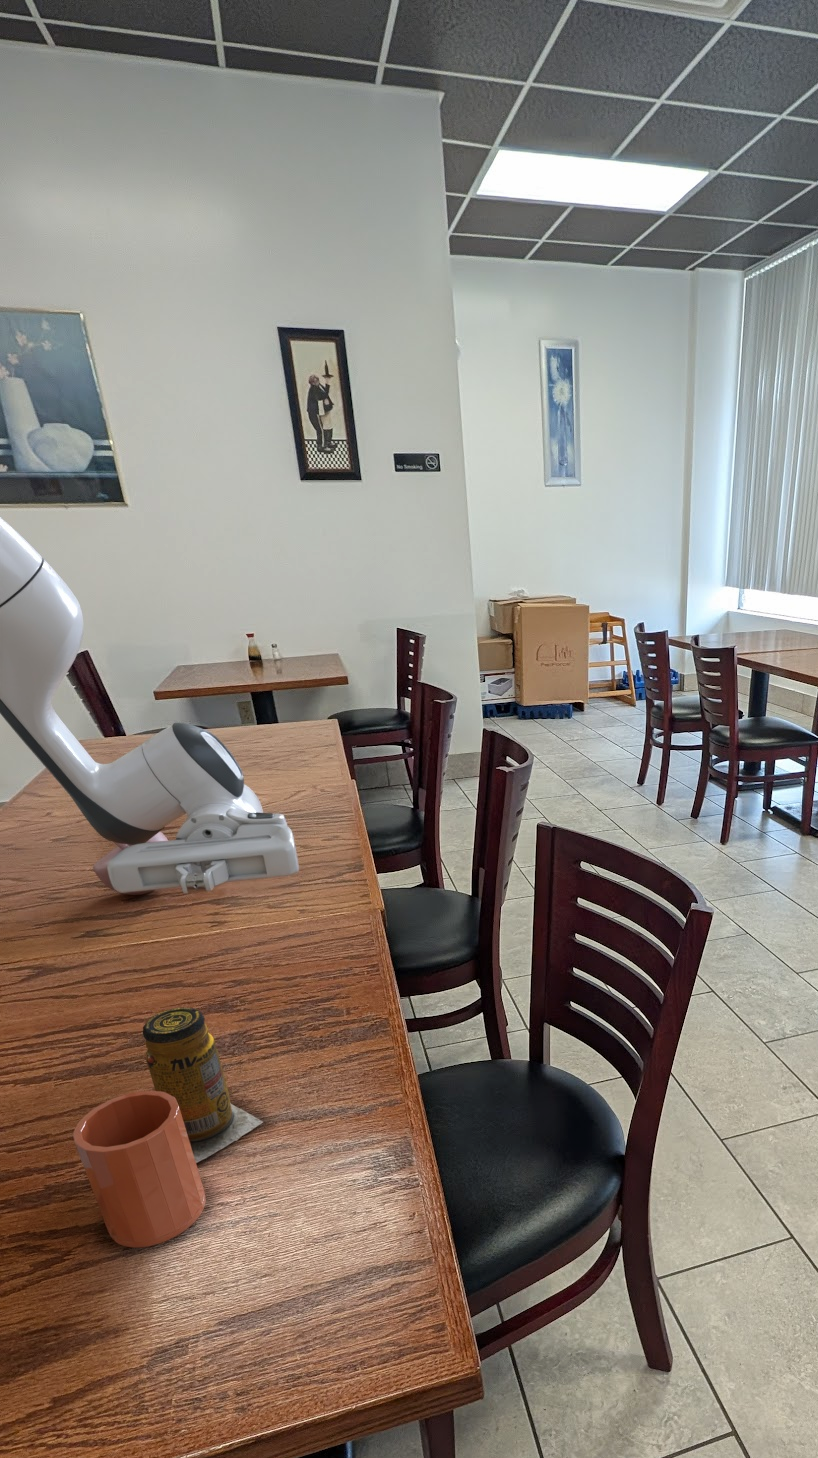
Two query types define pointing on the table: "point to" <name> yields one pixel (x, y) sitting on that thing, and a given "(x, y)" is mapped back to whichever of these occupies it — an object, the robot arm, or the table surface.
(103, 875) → the mortar and pestle
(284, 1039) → the table surface
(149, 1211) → the terracotta cup
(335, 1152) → the table surface
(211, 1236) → the table surface
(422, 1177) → the table surface
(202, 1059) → the condiment
